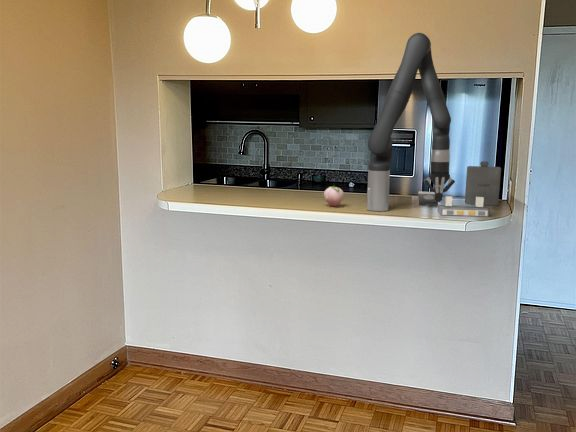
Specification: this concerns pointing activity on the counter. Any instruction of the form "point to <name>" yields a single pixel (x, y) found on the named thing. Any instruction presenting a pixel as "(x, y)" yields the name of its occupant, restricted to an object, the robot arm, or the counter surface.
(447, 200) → the slider left
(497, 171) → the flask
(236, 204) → the counter surface
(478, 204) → the slider right
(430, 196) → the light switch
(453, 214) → the switch unit
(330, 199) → the decorative fruit
